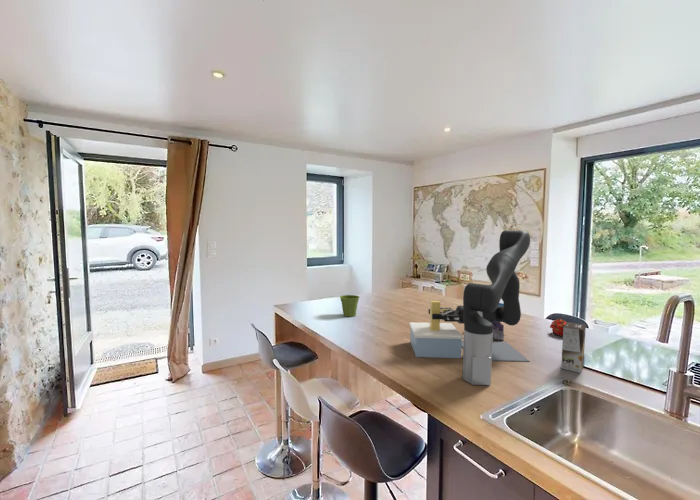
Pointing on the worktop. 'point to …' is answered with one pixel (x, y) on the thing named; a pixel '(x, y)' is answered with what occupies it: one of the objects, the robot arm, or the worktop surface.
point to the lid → (435, 326)
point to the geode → (498, 331)
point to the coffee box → (573, 347)
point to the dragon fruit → (558, 326)
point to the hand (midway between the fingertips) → (430, 313)
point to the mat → (505, 352)
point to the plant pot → (349, 304)
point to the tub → (436, 347)
